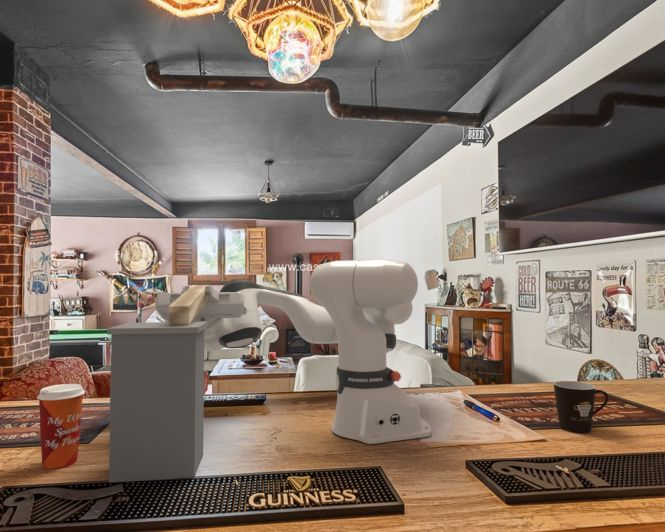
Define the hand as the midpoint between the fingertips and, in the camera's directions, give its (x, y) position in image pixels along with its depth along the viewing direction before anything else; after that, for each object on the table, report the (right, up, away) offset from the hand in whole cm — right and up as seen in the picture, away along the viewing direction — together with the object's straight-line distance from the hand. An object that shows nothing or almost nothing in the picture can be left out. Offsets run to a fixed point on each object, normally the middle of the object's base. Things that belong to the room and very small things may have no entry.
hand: (197, 288), depth 99 cm
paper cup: (-21, -32, -16) cm, 41 cm away
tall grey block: (-1, -32, -18) cm, 37 cm away
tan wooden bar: (+1, -4, -7) cm, 8 cm away
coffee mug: (+88, -33, +2) cm, 94 cm away
